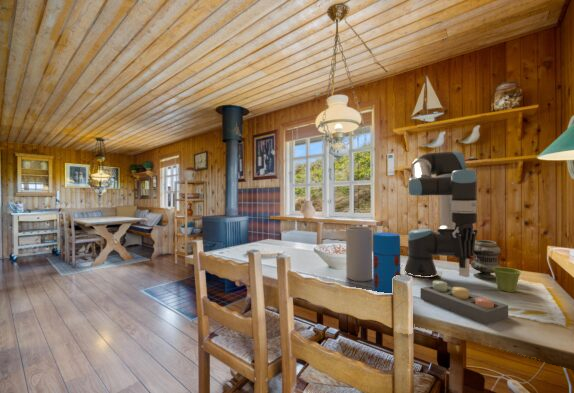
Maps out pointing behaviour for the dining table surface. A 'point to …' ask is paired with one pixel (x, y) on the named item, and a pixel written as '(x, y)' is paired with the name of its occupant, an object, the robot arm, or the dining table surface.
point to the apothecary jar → (485, 259)
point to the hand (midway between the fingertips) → (464, 275)
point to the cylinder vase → (359, 253)
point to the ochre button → (460, 293)
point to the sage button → (440, 286)
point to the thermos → (385, 260)
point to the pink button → (484, 303)
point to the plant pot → (506, 278)
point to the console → (465, 305)
